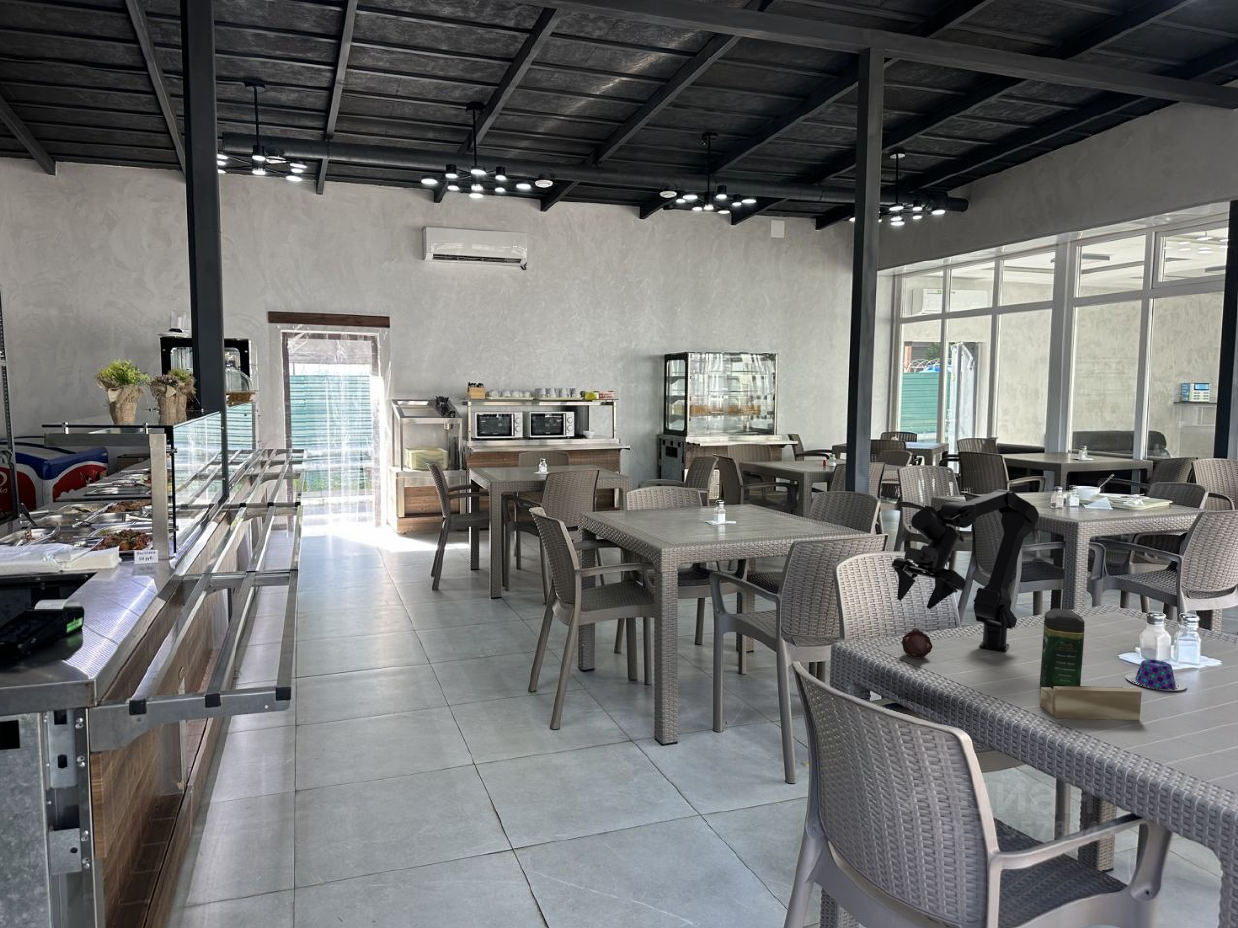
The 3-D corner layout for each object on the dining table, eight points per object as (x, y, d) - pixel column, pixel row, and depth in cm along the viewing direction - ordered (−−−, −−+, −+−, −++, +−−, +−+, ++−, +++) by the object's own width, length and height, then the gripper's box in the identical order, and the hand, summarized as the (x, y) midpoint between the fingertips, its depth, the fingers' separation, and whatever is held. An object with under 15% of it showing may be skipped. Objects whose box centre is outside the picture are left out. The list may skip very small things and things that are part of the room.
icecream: (940, 641, 202) (931, 630, 217) (909, 631, 204) (902, 621, 219) (931, 668, 203) (923, 655, 217) (900, 658, 204) (894, 646, 219)
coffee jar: (1083, 702, 181) (1088, 618, 179) (1042, 696, 184) (1047, 614, 182) (1075, 687, 190) (1081, 608, 188) (1037, 683, 193) (1042, 604, 191)
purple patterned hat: (1129, 672, 203) (1130, 651, 202) (1188, 683, 195) (1190, 662, 195) (1121, 685, 193) (1122, 663, 193) (1183, 697, 186) (1185, 674, 185)
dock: (1039, 705, 178) (1041, 678, 178) (1119, 707, 178) (1121, 679, 178) (1056, 717, 171) (1058, 689, 171) (1139, 719, 171) (1141, 691, 171)
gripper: (892, 527, 212) (865, 581, 209) (952, 539, 195) (924, 597, 192) (917, 548, 217) (891, 601, 214) (978, 561, 200) (951, 618, 197)
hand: (913, 603), depth 204 cm, fingers open, 9 cm apart
